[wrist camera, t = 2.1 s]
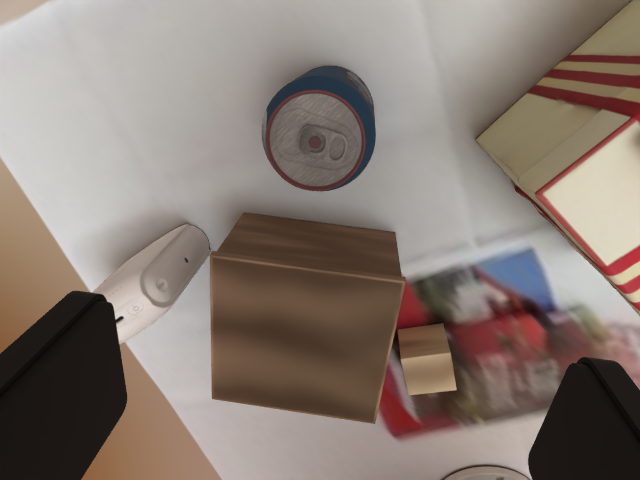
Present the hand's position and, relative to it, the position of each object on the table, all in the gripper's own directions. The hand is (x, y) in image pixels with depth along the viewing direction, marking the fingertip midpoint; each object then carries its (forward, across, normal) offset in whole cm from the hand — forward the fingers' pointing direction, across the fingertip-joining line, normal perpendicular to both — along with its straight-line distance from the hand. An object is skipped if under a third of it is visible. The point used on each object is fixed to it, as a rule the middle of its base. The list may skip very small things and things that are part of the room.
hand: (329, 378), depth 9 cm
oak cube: (+29, -10, +22) cm, 38 cm away
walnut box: (+29, +2, +16) cm, 34 cm away
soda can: (+30, +2, 0) cm, 30 cm away
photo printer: (+30, +17, +15) cm, 37 cm away
